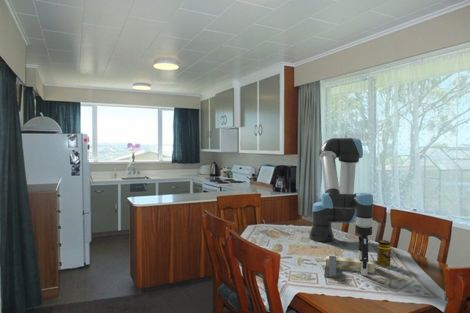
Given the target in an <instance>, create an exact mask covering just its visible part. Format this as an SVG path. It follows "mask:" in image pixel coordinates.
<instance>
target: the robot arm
mask: <svg viewBox="0 0 470 313" xmlns="http://www.w3.org/2000/svg"><path fill="white" fill-rule="evenodd" d="M318 156H319V157H318V158H319V161H320V162H321V167H322V168H321V170H322V176H323V186H324V187H323V188H324V193H321V201H317V202H314V203H313V205H312V210H311V211H312V222H311V223H312V224H311V229H310V232H309V235H308V236H309V239H310V240H312V241H316V242H322V243H326V242H327V243H330V242H333V241H334V240H335V234H334V232H333V227H332V223H334V224H335V223H337V224H348V225H349V224H353V223H355V228H354V230H355V231H354V232H355V234H357V235H359V236H358V256H357V257H358V258H357V259H360V261H361V271H360V275H362V276H368V273H369V272H368V261H369V260H370V259H369V238H368V236H371V235H373V219H374V218H373V216H374V215H373V213H374V196H373V194H371V193H369V192H358V193H357V192H356V193H354V192H355V180H356V178H355V177H356V170H357V169H356V166H357V164H358V163H359V161H360V159H363V156H364V149H363V142H362V141H361V139H360V138H354V137H338V138H337V137H334V138H333V137H332V138H329V139H328V140H326V141H324V143H322V145H321V146H320V149H319V153H318ZM337 159H338V161H339V163H340V171H339V176H338V170H337V164H336V160H337Z"/></svg>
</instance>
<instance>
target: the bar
mask: <svg viewBox="0 0 470 313" xmlns="http://www.w3.org/2000/svg"><path fill="white" fill-rule="evenodd" d="M329 256H330V255H326V256H325V267H329ZM368 260H369V261H368V272H367V273H372V274H375V264H374V261H373V260H370V259H368ZM336 268H340V270H344V269H345V270H346V271H355V272H361V261H360V259H358V258H350V257H339V256H336ZM345 270H344V271H345Z"/></svg>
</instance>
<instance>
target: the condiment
mask: <svg viewBox="0 0 470 313" xmlns="http://www.w3.org/2000/svg"><path fill="white" fill-rule="evenodd" d="M391 255H392V247H391V242H390V241H389V240H385V239H381V240H380V239H379V240H378V246H377V254H376V257H377V258H376V259H377V260H375V259H373V260H372V261H374V264H375V266H376V267H381V268H385V269H392V264H393V263H391V257H392V256H391Z"/></svg>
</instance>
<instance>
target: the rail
mask: <svg viewBox="0 0 470 313" xmlns="http://www.w3.org/2000/svg"><path fill="white" fill-rule="evenodd" d="M328 256H329V267H326V266H324V278H331V279H341V277H342V274H341V269H340V268H336V257H337V256H335V255H328Z"/></svg>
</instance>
